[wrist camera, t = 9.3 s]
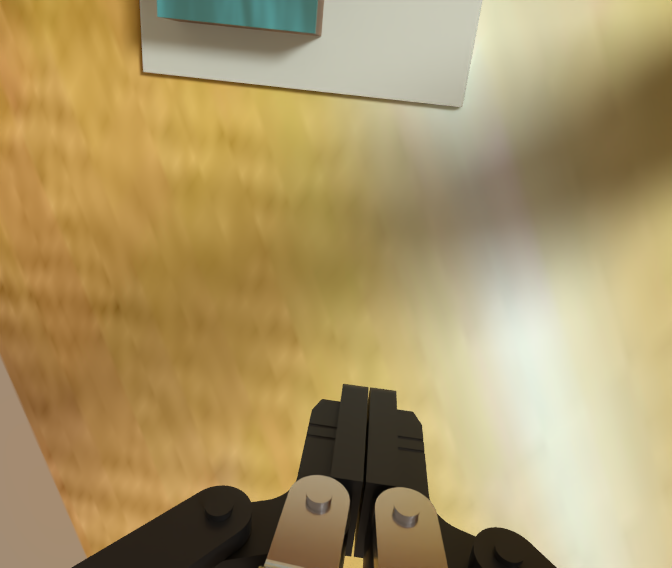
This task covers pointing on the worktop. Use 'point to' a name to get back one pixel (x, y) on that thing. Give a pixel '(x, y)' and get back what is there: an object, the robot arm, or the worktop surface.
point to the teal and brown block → (249, 14)
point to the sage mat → (330, 50)
